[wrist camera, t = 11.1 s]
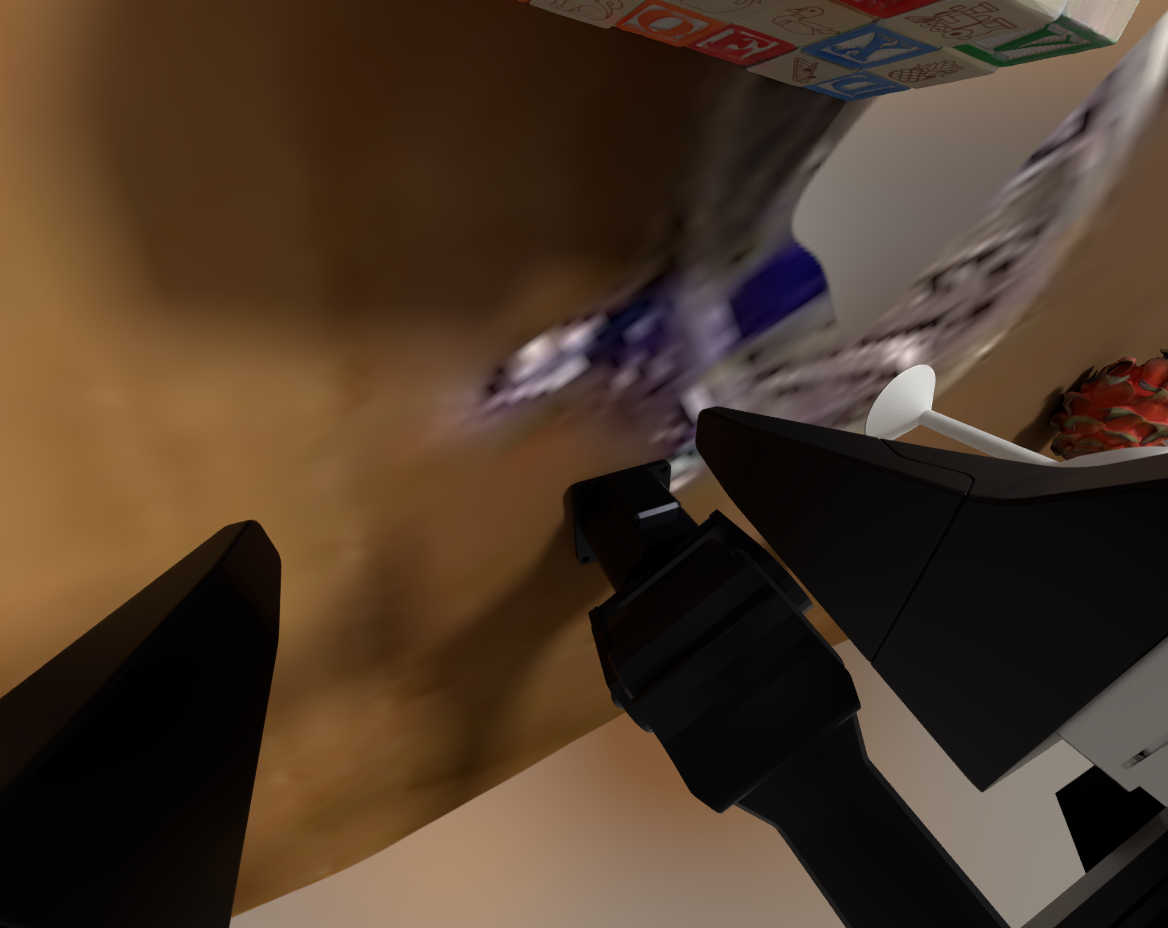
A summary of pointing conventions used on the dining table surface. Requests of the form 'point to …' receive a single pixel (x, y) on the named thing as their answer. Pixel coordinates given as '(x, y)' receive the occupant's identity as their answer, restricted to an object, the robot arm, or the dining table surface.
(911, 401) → the champagne flute
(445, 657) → the dining table surface
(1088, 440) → the dragon fruit
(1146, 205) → the dining table surface
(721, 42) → the stack of blocks
